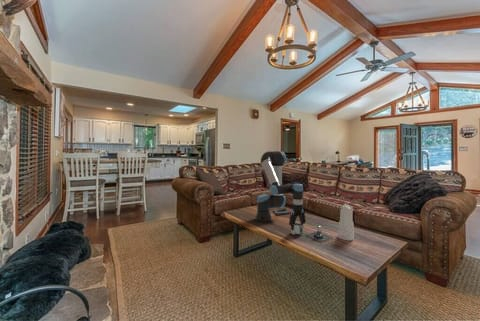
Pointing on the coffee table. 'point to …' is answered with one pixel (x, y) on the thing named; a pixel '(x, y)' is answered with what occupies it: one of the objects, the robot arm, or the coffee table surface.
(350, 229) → the decorative vase
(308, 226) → the coffee table surface
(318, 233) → the square peg base
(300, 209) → the robot arm
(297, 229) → the grey octagonal holder
